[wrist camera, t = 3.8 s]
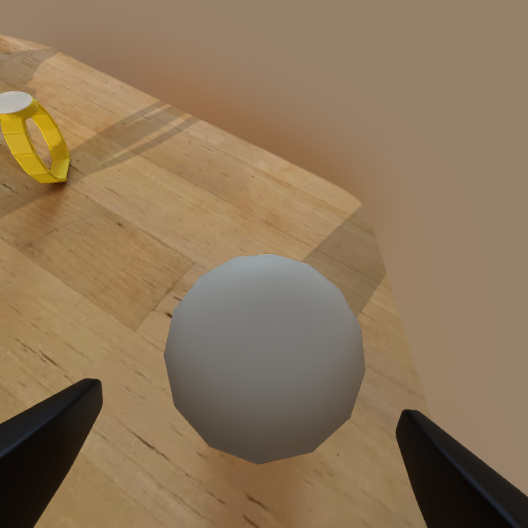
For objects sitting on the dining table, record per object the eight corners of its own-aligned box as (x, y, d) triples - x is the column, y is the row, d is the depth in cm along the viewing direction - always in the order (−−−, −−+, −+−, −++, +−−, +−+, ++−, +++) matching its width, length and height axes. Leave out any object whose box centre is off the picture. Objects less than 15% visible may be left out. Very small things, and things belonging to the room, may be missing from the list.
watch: (76, 194, 22) (25, 129, 17) (39, 198, 22) (-26, 132, 16) (80, 146, 25) (37, 77, 19) (47, 149, 24) (-6, 79, 19)
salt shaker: (181, 384, 16) (34, 336, 5) (247, 317, 18) (258, 174, 7) (251, 462, 14) (292, 690, 3) (313, 379, 17) (471, 328, 5)
